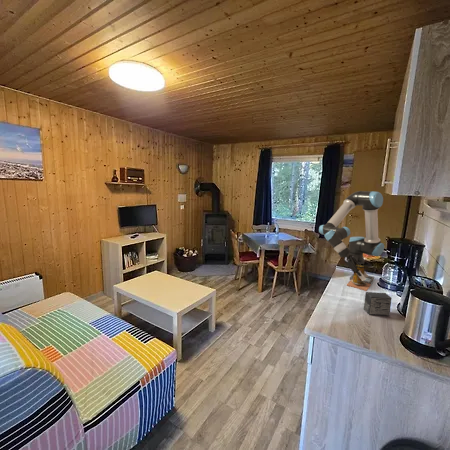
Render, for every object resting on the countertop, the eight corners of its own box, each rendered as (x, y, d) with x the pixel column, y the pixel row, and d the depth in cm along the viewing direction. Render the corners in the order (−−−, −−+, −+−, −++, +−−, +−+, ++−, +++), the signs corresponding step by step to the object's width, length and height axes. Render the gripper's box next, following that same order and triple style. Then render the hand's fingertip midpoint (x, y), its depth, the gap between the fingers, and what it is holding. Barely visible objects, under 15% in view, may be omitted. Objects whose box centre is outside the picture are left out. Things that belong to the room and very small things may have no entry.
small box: (383, 310, 130) (385, 292, 129) (390, 316, 124) (392, 298, 122) (362, 308, 131) (365, 291, 130) (368, 315, 125) (371, 296, 123)
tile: (351, 280, 170) (351, 279, 170) (370, 285, 162) (370, 284, 162) (346, 285, 161) (346, 284, 161) (366, 291, 153) (366, 289, 153)
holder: (354, 274, 181) (354, 272, 180) (374, 279, 172) (374, 277, 172) (349, 279, 171) (349, 277, 171) (370, 285, 163) (370, 282, 162)
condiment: (350, 280, 165) (352, 263, 163) (362, 281, 165) (365, 264, 163) (355, 284, 158) (357, 267, 156) (368, 285, 157) (370, 267, 156)
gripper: (342, 250, 175) (364, 277, 167) (333, 255, 161) (357, 285, 153) (350, 244, 171) (373, 272, 163) (342, 249, 157) (367, 280, 149)
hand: (365, 278), depth 158 cm, fingers closed on condiment, 6 cm apart
